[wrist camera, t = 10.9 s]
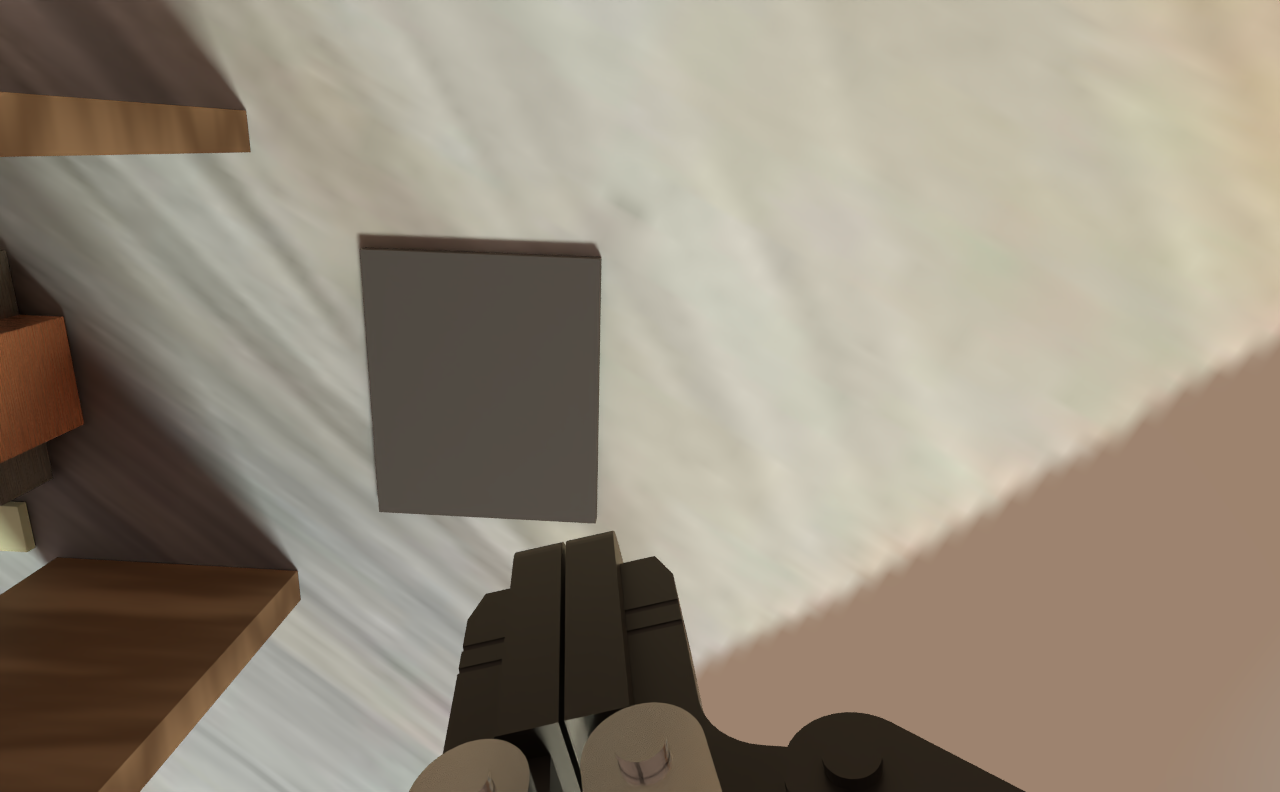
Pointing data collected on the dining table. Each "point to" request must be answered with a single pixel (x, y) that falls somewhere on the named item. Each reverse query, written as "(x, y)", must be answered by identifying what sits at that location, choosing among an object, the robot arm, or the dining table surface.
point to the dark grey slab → (484, 382)
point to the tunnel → (120, 590)
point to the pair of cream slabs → (15, 528)
